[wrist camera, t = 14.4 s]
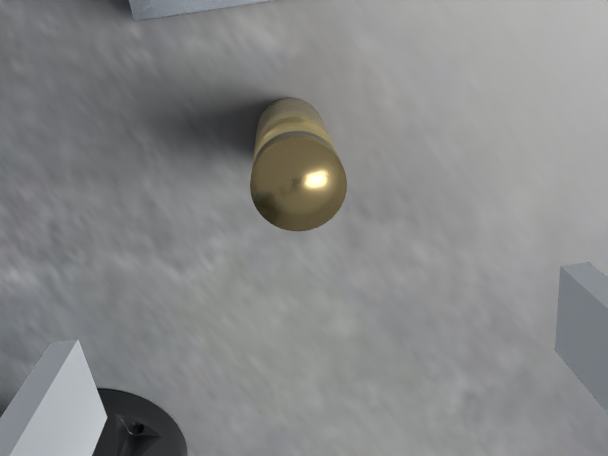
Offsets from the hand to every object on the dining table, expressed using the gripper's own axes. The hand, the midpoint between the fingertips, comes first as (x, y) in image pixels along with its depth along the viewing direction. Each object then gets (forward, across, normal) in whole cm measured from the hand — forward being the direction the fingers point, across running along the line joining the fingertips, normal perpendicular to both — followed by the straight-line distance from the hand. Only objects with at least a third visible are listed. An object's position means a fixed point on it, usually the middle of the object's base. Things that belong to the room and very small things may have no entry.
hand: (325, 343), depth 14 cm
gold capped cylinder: (+27, 0, 0) cm, 27 cm away
